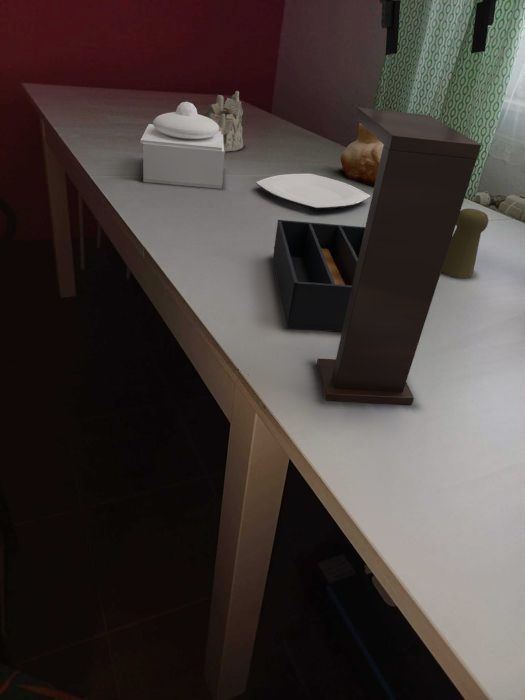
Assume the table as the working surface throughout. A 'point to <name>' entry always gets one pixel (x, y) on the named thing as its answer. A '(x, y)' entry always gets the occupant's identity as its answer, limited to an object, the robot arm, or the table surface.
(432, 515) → the table surface
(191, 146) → the butter dish
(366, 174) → the ceramic vessel
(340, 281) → the bar
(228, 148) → the miniature castle sculpture
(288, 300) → the slot rack
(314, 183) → the plate
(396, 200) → the shelf stand
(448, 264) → the cork
